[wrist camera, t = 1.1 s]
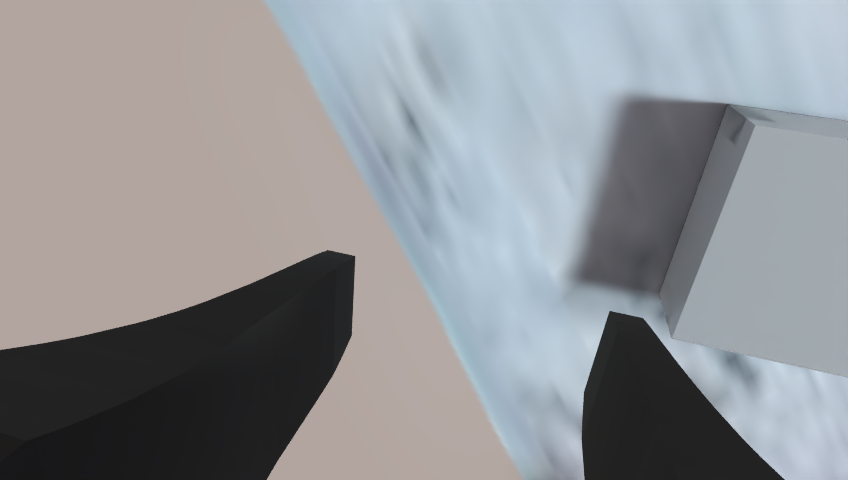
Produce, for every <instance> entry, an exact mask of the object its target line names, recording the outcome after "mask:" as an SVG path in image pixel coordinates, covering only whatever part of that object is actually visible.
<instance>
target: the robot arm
mask: <svg viewBox="0 0 848 480" xmlns="http://www.w3.org/2000/svg"><path fill="white" fill-rule="evenodd" d="M354 270H355V256H352V255H348V254H343V253H338V252H334V251H328V250H327V251H325V252H322V253H319V254H317V255H314V256H312V257H310V258H307V259H305V260H303V261H300V262H298V263H296V264H294V265H292V266H289V267H287V268H285V269H283V270H281V271H278V272H276V273H274V274H272V275H269V276H267V277H265V278H263V279H260V280H258V281H256V282H254V283H251V284H249V285H247V286H244V287H241V288H239V289H236V290H234V291H231V292H229V293H226V294H224V295H221V296H219V297H216V298H214V299H211V300H209V301H206V302H203V303H201V304H198V305H195V306H192V307H189V308H186V309H183V310H180V311H177V312H174V313H170V314H167V315H164V316H160V317H157V318H154V319H150V320H147V321H143V322H139V323H136V324H132V325H127V326H123V327H119V328H114V329H110V330H106V331H102V332H97V333H93V334H89V335H85V336H80V337H75V338H70V339H65V340H60V341H54V342H48V343H43V344H37V345H30V346H24V347H17V348H11V349H5V350H0V480H267V478H268V476H269V474H270V473H271V471H272V469H273V468H274V466H275V464H276V463H277V461H278V459H279V458H280V456H281V455H282V453H283V452H284V450H285V449H286V447H287V445H288V444H289V443H290V441H291V439H292V438H293V436H294V435H295V433H296V432H297V430H298V428H299V427H300V425H301V424H302V423H303V421H304V420H305V418H306V416H307V415H308V413H309V412H310V410H311V409H312V407H313V406H314V404H315V403H316V401H317V400H318V398H319V396H320V395H321V393H322V392H323V390H324V388H325V387H326V385H327V384H328V382H329V380H330V379H331V377H332V375H333V374H334V372H335V370H336V368H337V366H338V364H339V362H340V360H341V357H342V356H343V353H344V351H345V349H346V347H347V345H348V342H349V340H350V338H351V336H352V315H353V294H354V272H355V271H354ZM582 450H583V463H584V476H585V480H784V479H783V478H782V477H781V476H780V475H779V474H778V473H777V472H776V471H775V470H774V469H773V468H772V467H771V466H770V465H769V464H767V463H766V462H765V461H764V460H763V459H762V458H761V457H760V456H759V455H758V454H757V453H756V452H755V451H754V450H753V449H752V448H751V447H750V446H749V445H748V444H747V443H746V442H745V441H744V440H743V439H742V437H741V436H740V435H739V434H738V433H737V432H736V431H735V430H734V429H733V428H732V427H731V425H730V424H729V423H728V422H727V421H726V420H725V419H724V418H723V417H722V416H721V414H720V413H719V412H718V411H717V410H716V409H715V408H714V407H713V405H712V404H711V403H710V402H709V401H708V400H707V398H706V397H705V396H704V395H703V394H702V393H701V391H700V390H699V389H698V388H697V387H696V385H695V384H694V383H693V382H692V380H691V379H690V378H689V377H688V375H687V374H686V373H685V372H684V370H683V369H682V368H681V367H680V365H679V364H678V363H677V362H676V360H675V359H674V358H673V356H672V355H671V354H670V352H669V351H668V350H667V349H666V347H665V346H664V345H663V343H662V342H661V341H660V339H659V338H658V337H657V335H656V334H655V333H654V331H653V330H652V329H651V328H650V326H649V325H648V324H647V322H646V321H645V320H644V319H643V318H640V317H635V316H630V315H626V314H621V313H616V312H612V311H610V312H609V315H608V318H607V321H606V324H605V328H604V331H603V334H602V337H601V340H600V343H599V347H598V350H597V353H596V356H595V359H594V362H593V366H592V369H591V372H590V375H589V378H588V381H587V385H586V388H585V391H584V402H583V420H582Z"/></svg>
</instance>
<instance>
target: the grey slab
mask: <svg viewBox="0 0 848 480" xmlns="http://www.w3.org/2000/svg"><path fill="white" fill-rule="evenodd" d="M659 296H660V299H661V303H662V306H663V310H664V313H665V317H666V321H667V324H668V328H669V331H670V335H671V338H672V339H675V340H680V341H684V342H689V343H693V344H698V345H703V346H707V347H712V348H716V349H721V350H725V351H730V352H734V353H739V354H743V355H748V356H752V357H757V358H762V359H766V360H771V361H775V362H780V363H784V364H789V365H793V366H798V367H802V368H807V369H812V370H816V371H821V372H825V373H830V374H834V375H839V376H843V377H848V121H843V120H836V119H829V118H822V117H815V116H808V115H801V114H794V113H787V112H781V111H774V110H767V109H760V108H753V107H746V106H739V105H732V104H728V105H727V108H726V110H725V113H724V116H723V119H722V121H721V124H720V127H719V130H718V132H717V135H716V138H715V141H714V144H713V146H712V149H711V152H710V155H709V157H708V160H707V163H706V166H705V168H704V171H703V174H702V177H701V179H700V182H699V185H698V188H697V191H696V193H695V196H694V199H693V202H692V204H691V207H690V210H689V213H688V215H687V218H686V221H685V224H684V227H683V229H682V232H681V235H680V238H679V240H678V243H677V246H676V249H675V251H674V254H673V257H672V260H671V262H670V265H669V268H668V271H667V274H666V276H665V279H664V282H663V285H662V287H661V290H660V293H659Z"/></svg>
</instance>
